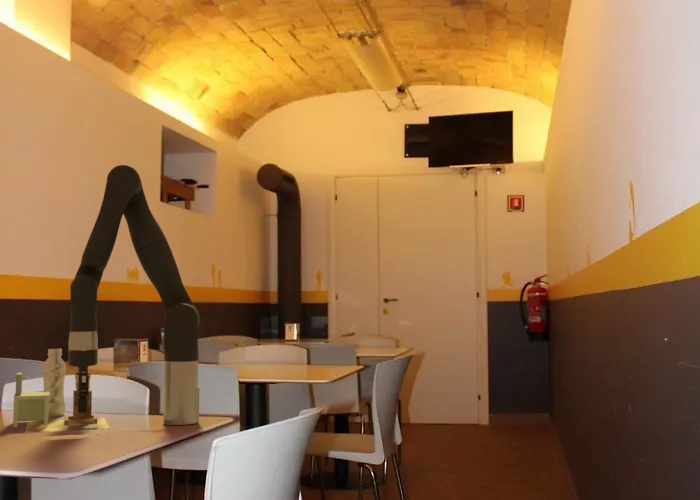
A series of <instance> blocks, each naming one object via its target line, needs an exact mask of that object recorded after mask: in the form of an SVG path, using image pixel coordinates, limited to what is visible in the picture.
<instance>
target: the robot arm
mask: <svg viewBox="0 0 700 500" xmlns="http://www.w3.org/2000/svg"><path fill="white" fill-rule="evenodd" d="M106 176H107V177H106V182H105V183H106V184H105V187H104V188H105V189H104V195H103V198H102V202H101V206H100V209H99V212H98V215H97V218H96V219H95V223H94V226H93V228H92V231H91V232H90V235H89V238H88V240H87V242H86V246H85V248H84V250H83V253H82V257H81V260H80V263H79V264H80V265H79V267H78V270H77V271H76V274H75V276H74V278H73V280H72V281H71V283H70V289H69V291H70V293H69V294H70V295H69V296H70V318H69V336H68V360H67V361H68V362H67V363H68V366H69V367H75V368H76V367H77V371H76V372H74V380H75V389H76V390H78V412H79V413H86V412H87V398H88V395H89V393H88V390H91V389H90V387H91V385H90V381H91V378H92V376H91V375H92V373H91V371H89V370H88V369H89V367H93V366H97V365H98V354H99V353H98V350H99V349H98V347H99V345H98V343H99V340H98V339H99V338H98V315H97V304H98V290H99V286H100V285H101V280H102V278H103V274H104V271H105V269H106V267H107V265H108V263H109V261H110V258H111V255H112V252H113V251H114V247H115V244H116V241H117V237H118V232H119V229H120V225H121V221H122V218H123V216H124V219H125V221H126V223H127V227H128V232H129V236H130V239H131V243H132V245H133V248H134V251H135V254H136V257H137V258H138V261H139V263H140V265H141V267H142V269H143V271H144V273H145V274H146V277H147V278H148V280H149V281H150V282H151V284H152V286H154V288H155V290H156V292H157V293H158V296H159V298H160V299H161V302H162V305H163V308H164V311H165V314H164V320H163V350H164V351H163V352H164V375H163V376H164V382H163V383H164V385H163V424H164V425H168V426H169V425H171V426H185V425H193V424H199V423H200V391H201V390H200V388H199V354H200V353H199V344H198V343H199V327H200V323H201V316H200V313H199V311H198V309H197V308H196V306H195V304H194V302H193V301H192V299H191V298H190V296H189V293H188V292H187V290H186V287H185V286H184V283H183V281H182V277H181V275H180V271H179V268H178V265H177V262H176V260H175V257H174V254H173V251H172V250H171V249H172V248H171V247H170V245H169V242H168V239H167V238H166V236H165V234H164V232H163V230H162V227H161V226H160V224H159V223H158V222H157V220H156V218H155V217H154V215H153V213H152V211H151V209H150V206H149V204H148V200H147V198H146V195H145V191H144V188H143V183H142V180H141V177H140V174H139V173H138V170H136V169H135V168H134V167H132V166H130V165H128V164H119V165H116V166H114V167H113V168H112V169H110V171H109V172H108V174H107V175H106ZM81 390H86V392H81Z"/></svg>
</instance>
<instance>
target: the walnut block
mask: <svg viewBox="0 0 700 500" xmlns="http://www.w3.org/2000/svg"><path fill="white" fill-rule="evenodd" d="M72 391H73V393H72V394H73V398H72V399H73V401H72V404H73V405H72V416H73V418H90V417H91V415H92V405H93V404H92V403H93V402H92V400H93V399H92V398H93V397H92V396H93V391H92V389H89V390H88V393H89V395H88V398H87V412H86V413H79V412H78V390H72ZM81 392H86V390H81Z"/></svg>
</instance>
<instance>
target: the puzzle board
mask: <svg viewBox="0 0 700 500" xmlns="http://www.w3.org/2000/svg"><path fill="white" fill-rule="evenodd" d="M105 429H107V430H108V429H110V426H109V424H108V422H107V419H106V418H105V417H97V414H91V417H90V418H73V415H66V416H65V415H64V419H55V420H53V419H50V420H49V419H48V426H44V420H39V421H26V427H25V434H31V433H32V434H33V433H34V434H35V433H36V434H37V433H49V432H50V433H53V432H54V433H55V432H68V431H84V430H86V431H88V430H89V431H90V430H91V431H92V430H105ZM68 435H70V434H67V436H68ZM49 436H52V435H49ZM31 437H33V438H34V435H33V436H31Z"/></svg>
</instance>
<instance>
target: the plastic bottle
mask: <svg viewBox="0 0 700 500" xmlns="http://www.w3.org/2000/svg"><path fill="white" fill-rule="evenodd" d="M62 352H63V349H62V348H49V349H47V357H48V358H47V359H46V360H45V361H44V363H43V364H42V367H41V369H42V377H43V391H49V413H48V418H55V417H56V418H58V417H63V416H65V413H66V404H65V403H66V402H65V394H64V391H65V390H64V389H65V388H64V385H65V378H66V371H67V366H66V363H65V361H64V360H63V358H62V356H63V353H62Z"/></svg>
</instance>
